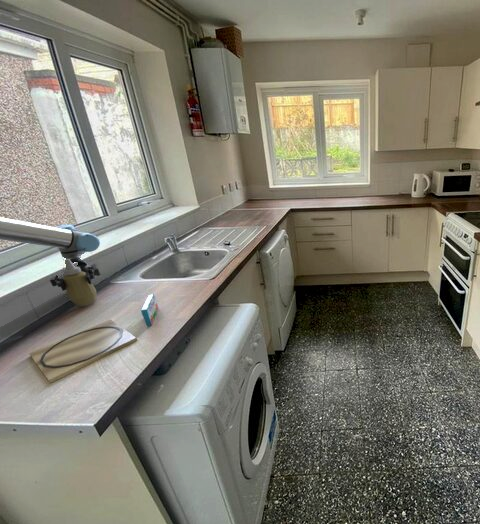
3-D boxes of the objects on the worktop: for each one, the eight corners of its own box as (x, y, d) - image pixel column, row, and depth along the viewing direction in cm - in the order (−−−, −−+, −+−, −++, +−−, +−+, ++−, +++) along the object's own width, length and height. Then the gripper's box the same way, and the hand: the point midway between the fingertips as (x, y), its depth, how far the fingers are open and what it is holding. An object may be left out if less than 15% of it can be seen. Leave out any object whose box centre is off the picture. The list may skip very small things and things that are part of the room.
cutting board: (30, 355, 84) (28, 352, 83) (111, 321, 99) (110, 318, 98) (50, 383, 73) (48, 379, 73) (137, 340, 88) (136, 337, 88)
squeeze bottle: (87, 308, 107) (67, 263, 100) (66, 308, 107) (45, 264, 100) (105, 297, 114) (87, 255, 107) (85, 297, 114) (66, 256, 107)
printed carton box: (154, 309, 105) (148, 294, 103) (158, 308, 106) (153, 293, 104) (146, 326, 95) (140, 310, 93) (152, 325, 96) (146, 309, 93)
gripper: (109, 267, 127) (113, 284, 110) (48, 282, 115) (43, 302, 99) (102, 252, 124) (106, 266, 108) (39, 264, 112) (33, 283, 96)
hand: (76, 283), depth 103 cm, fingers closed on squeeze bottle, 6 cm apart
